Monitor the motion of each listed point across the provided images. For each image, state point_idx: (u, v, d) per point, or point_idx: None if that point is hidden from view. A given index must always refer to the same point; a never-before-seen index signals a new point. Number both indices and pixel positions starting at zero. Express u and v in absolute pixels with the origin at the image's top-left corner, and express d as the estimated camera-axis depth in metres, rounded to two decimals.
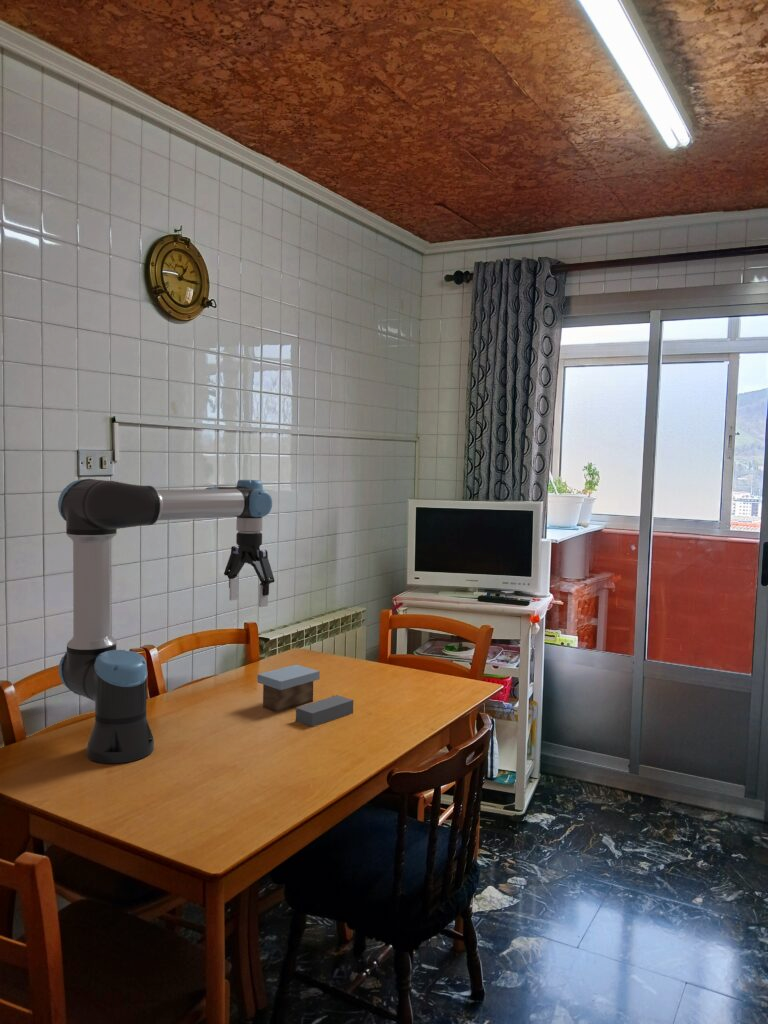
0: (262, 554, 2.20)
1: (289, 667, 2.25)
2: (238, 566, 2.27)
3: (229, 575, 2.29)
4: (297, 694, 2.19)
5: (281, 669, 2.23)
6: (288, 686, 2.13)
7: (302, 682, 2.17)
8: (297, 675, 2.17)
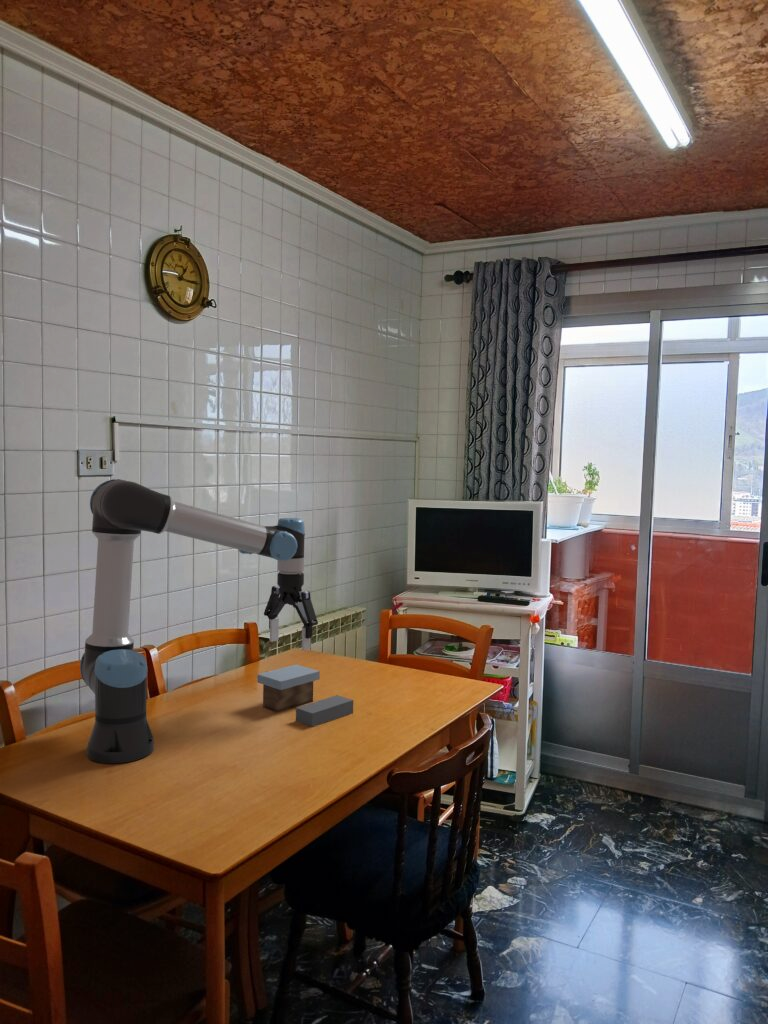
0: (305, 596, 2.13)
1: (289, 667, 2.25)
2: (279, 607, 2.21)
3: (269, 616, 2.22)
4: (297, 694, 2.19)
5: (281, 669, 2.23)
6: (288, 686, 2.13)
7: (302, 682, 2.17)
8: (297, 675, 2.17)
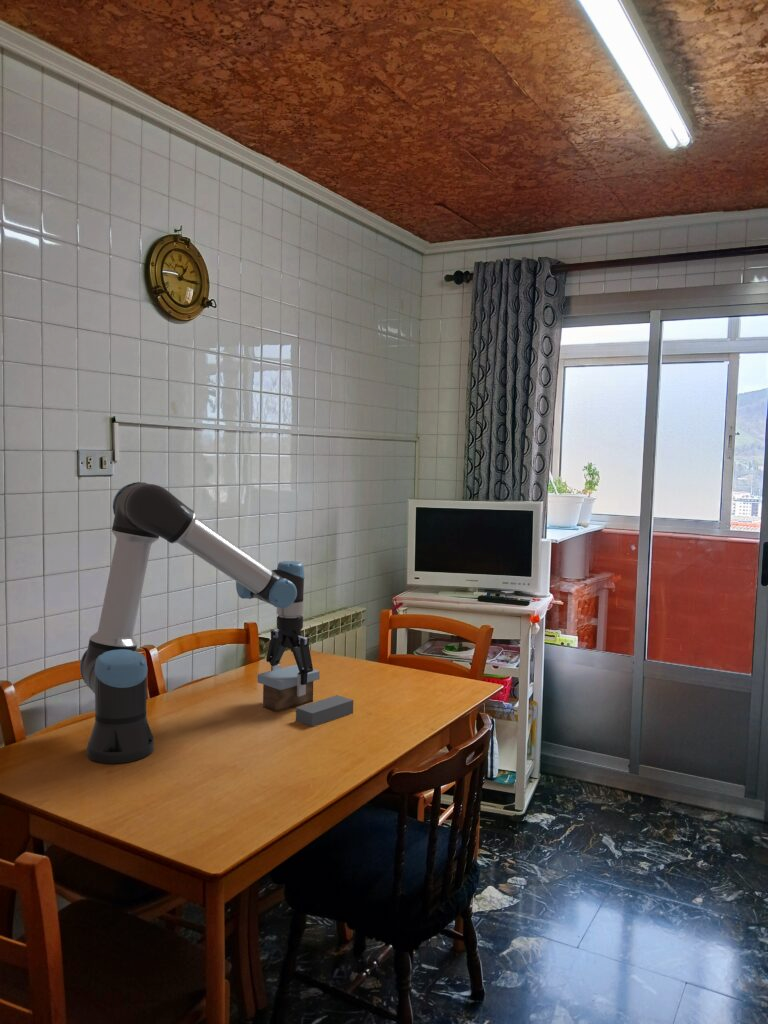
0: (304, 642, 2.14)
1: (289, 667, 2.25)
2: (280, 651, 2.21)
3: (271, 662, 2.22)
4: None
5: (281, 669, 2.23)
6: (288, 686, 2.13)
7: None
8: None
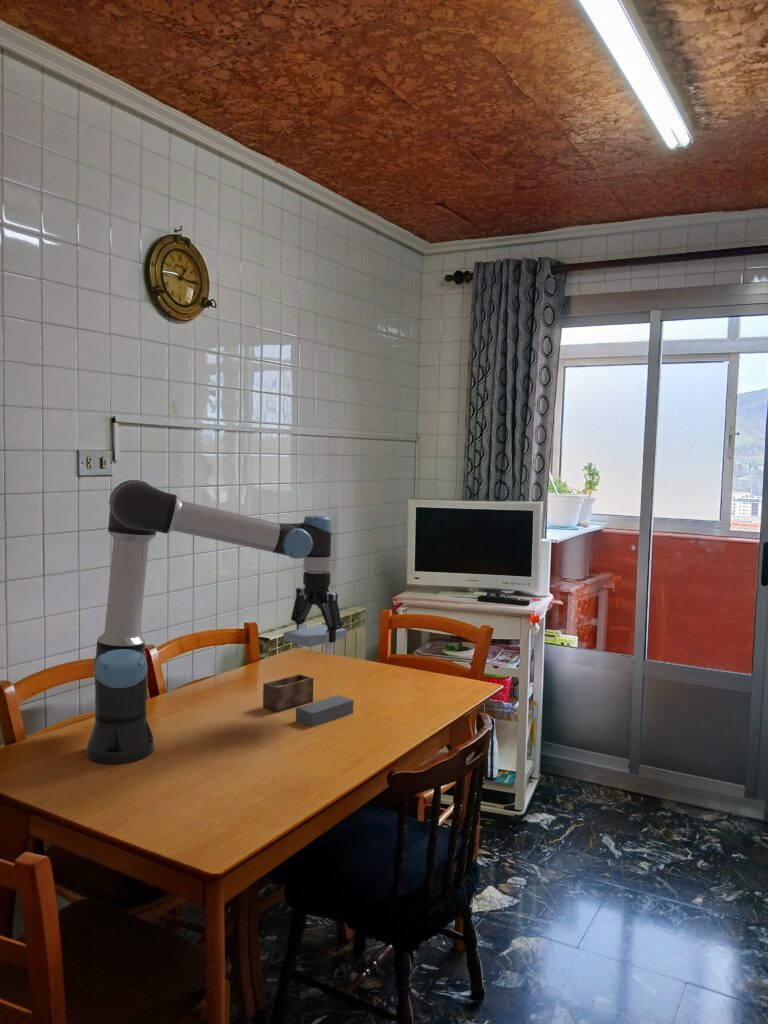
0: (332, 598, 2.06)
1: (315, 626, 2.18)
2: (306, 609, 2.13)
3: (297, 621, 2.15)
4: (297, 694, 2.19)
5: (307, 628, 2.15)
6: (316, 643, 2.05)
7: None
8: (325, 633, 2.09)
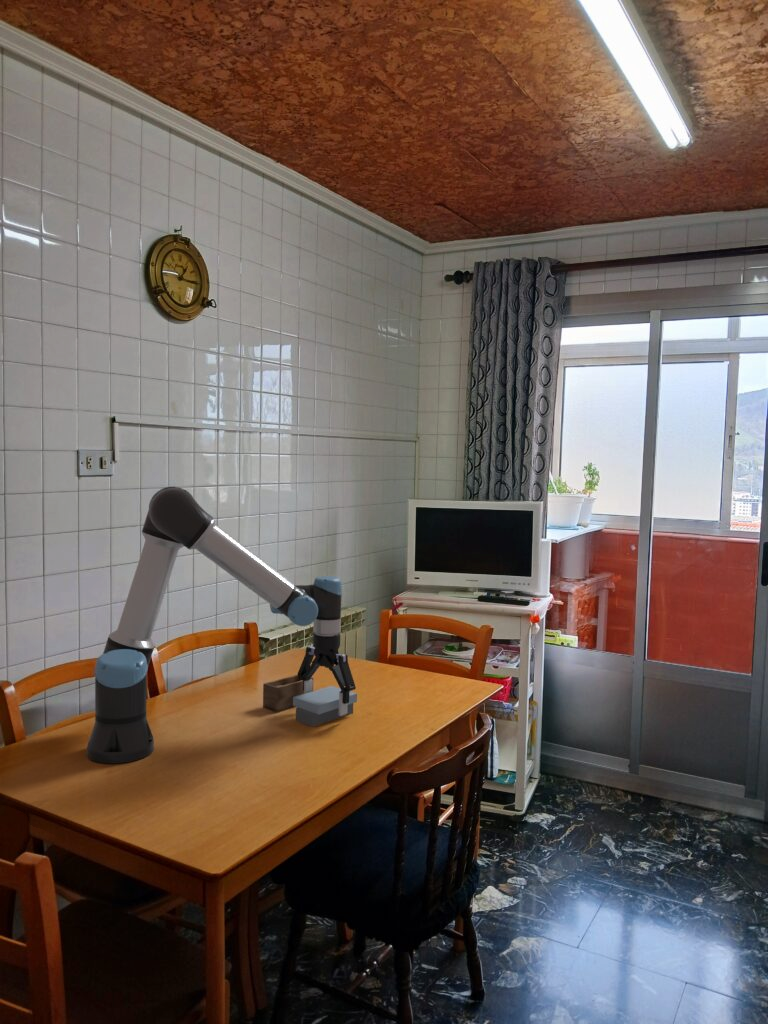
0: (342, 659, 2.04)
1: (325, 689, 2.16)
2: (314, 668, 2.12)
3: (303, 677, 2.14)
4: (297, 694, 2.19)
5: (317, 691, 2.13)
6: (326, 710, 2.04)
7: None
8: (334, 699, 2.07)
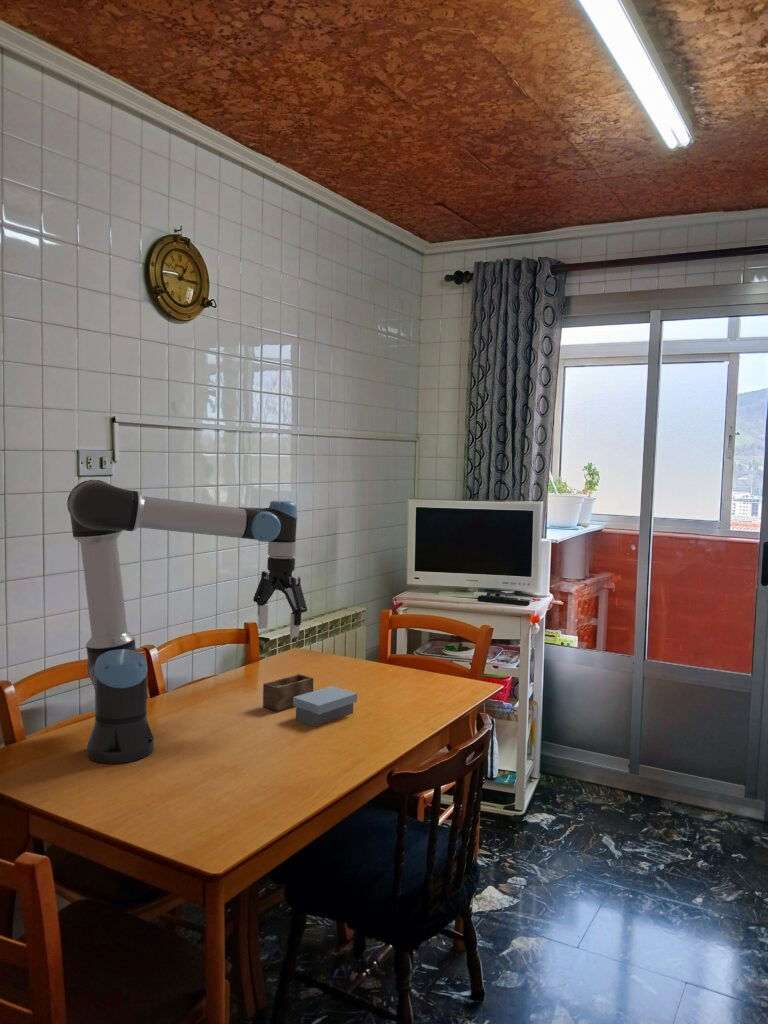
0: (295, 581, 2.06)
1: (325, 689, 2.16)
2: (268, 593, 2.13)
3: (258, 602, 2.15)
4: (297, 694, 2.19)
5: (317, 691, 2.13)
6: (326, 710, 2.04)
7: (340, 705, 2.08)
8: (334, 699, 2.07)
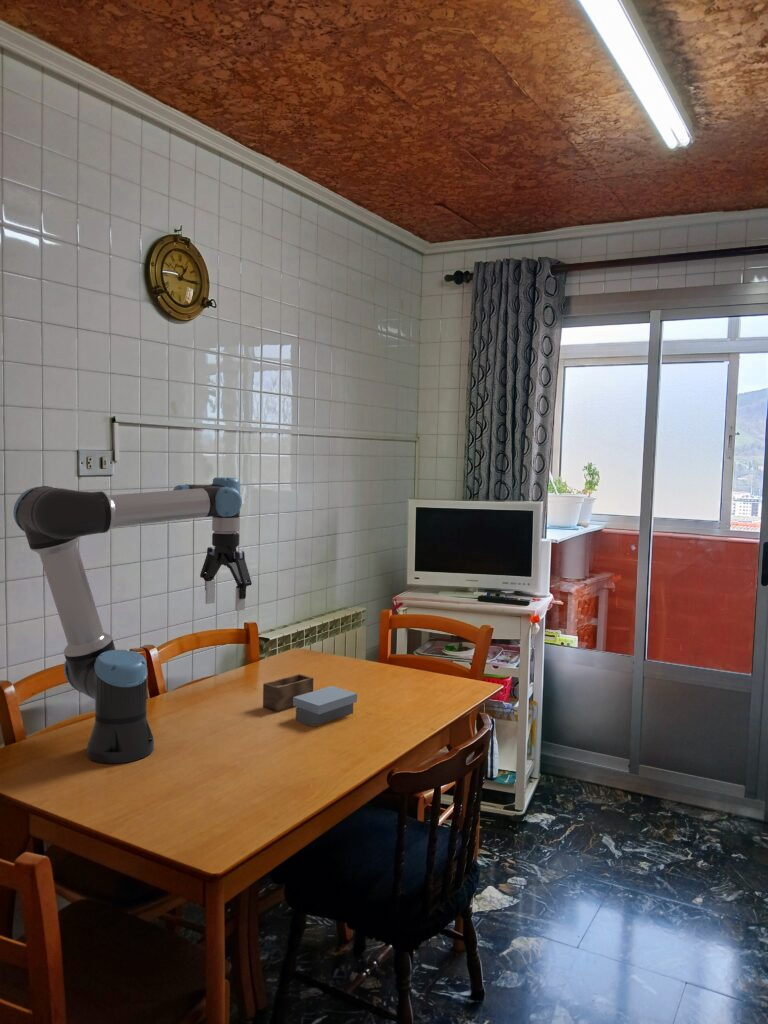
0: (239, 555, 2.09)
1: (325, 689, 2.16)
2: (214, 568, 2.17)
3: (205, 577, 2.19)
4: (297, 694, 2.19)
5: (317, 691, 2.13)
6: (326, 710, 2.04)
7: (340, 705, 2.08)
8: (334, 699, 2.07)
